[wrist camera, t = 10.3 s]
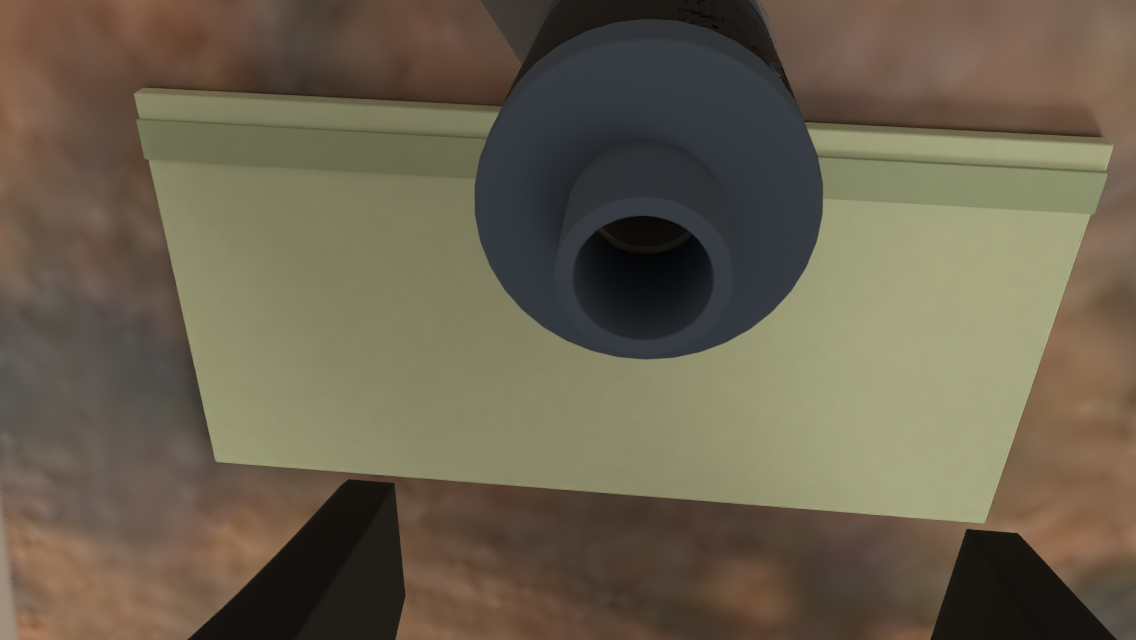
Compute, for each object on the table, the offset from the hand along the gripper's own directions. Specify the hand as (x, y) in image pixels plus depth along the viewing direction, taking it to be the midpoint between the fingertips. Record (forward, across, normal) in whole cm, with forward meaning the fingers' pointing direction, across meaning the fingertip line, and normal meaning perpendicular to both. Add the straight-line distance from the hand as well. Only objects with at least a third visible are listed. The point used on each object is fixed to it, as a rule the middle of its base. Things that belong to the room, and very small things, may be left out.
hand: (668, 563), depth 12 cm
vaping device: (+8, +1, -7) cm, 11 cm away
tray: (+8, +1, +1) cm, 8 cm away
